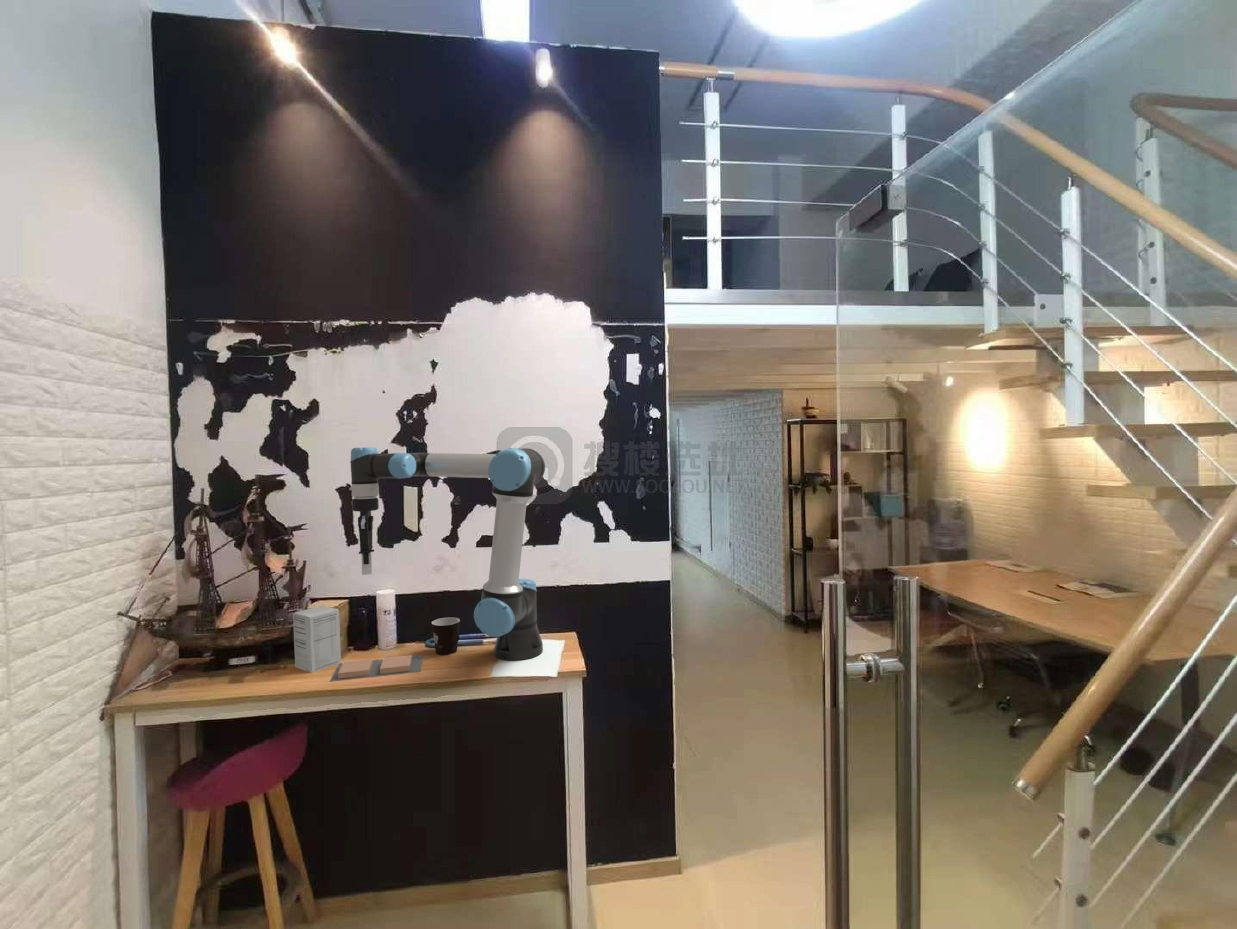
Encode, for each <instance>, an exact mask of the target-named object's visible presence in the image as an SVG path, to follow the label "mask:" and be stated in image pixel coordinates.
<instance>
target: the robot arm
mask: <svg viewBox="0 0 1237 929" xmlns="http://www.w3.org/2000/svg"><path fill="white" fill-rule="evenodd" d="M349 464H350V472H351V473H350V475H351V476H350V477H351V487H349V491H351V497H352V500H351V510H352V511H353V512H359V516H358V517H357V527H358V533H359V535H358V536H359V551H358V555H361V575H362V576H364V575H372V574H373V552H375V549H374V548H373V529H374V527H373V525H374V524H373V523H374V515H372V512H373V511H378V509H379V498H378V497H379V482H378V481H379V479H398V480H401V479H409V478H411V477H437V478H438V477H440V478H441V477H444V478H474V479H475V478H476V479H483V478H484V479H489V480H490V482H491V483H492V491H491V493H492V495H493V496H494V497H495V498H496V505H495V514H494V524H493V532H492V534H493V535H492V545H491V555H490V563H489V564H490V565H489V573H488V574H489V575H488V580H487V581H486V582H485V583H484V584H483V585H482V589H481V590H482V591H481V599H480V601H479V602H478V603H477V605H476V606H475V608H474V610H473V611H474V612H473V620H474V623H475V625H476V627H477V628H478V629H479V630H480V631H481V633H483V634H484V635H486V636H488V637H494V638H496V639H495V640H496V641H495V644H494V646H493V648H494V656H495V657H496V658H499V659H501V660H506V661H507V660H508V661H521V660H522V661H524V660H526V659H527V660H528V659H532V658H535V657H537V656H539V655H541V654H542V653H543V651H544V648H543V647H544V644H543V640H542V638H541V635H540V631H539V629H538V622H537V621H538V618H537V616H538V614H537V613H538V612H537V611H538V610H537V608H538V607H537V604H538V603H537V600H538V599H537V592H538V590H537V583H536V582H535V580H533V579H530V578H529V579H527V578H519V577H520V571H521V562H522V561H521V560H522V552H523V540H524V531H525V523H526V512H527V504H528V501H530V500H531V499H532V498H533V496H534V486H535V485H536V484H538V483H539V482H540V481H541V480H542V479H543V476H544V475H545V473H546V472H545V471H546V463H545V460H544V458H543V457H542V455H541V454H540V453H539V452H538V451H536V450H534V449H532V448H523V447H522V448H516V447H510V448H509V447H508V448H505V449H503V450H501V451H499V452H498V453H449V452H448V453H437V452H435V453H433V452H431V453H430V452H429V453H428V452H406V453H405V452H397V453H394V452H393V453H392V452H391V453H378V449H377V447H370V446H369V447H353V448H351V450H350V461H349Z"/></svg>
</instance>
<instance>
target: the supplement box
mask: <svg viewBox="0 0 1237 929" xmlns="http://www.w3.org/2000/svg"><path fill="white" fill-rule="evenodd" d="M292 619H293V623H292V624H293V643H294V644H293V646H294V648H293V649H294V667H295V669H299V670H301V671H305V672H307V673H310V674H313V673H316V672H319V671H323V670H325V669H328V668H331V667H334V666H338V665H339V664H342V658H341V657H342V656H341V655H342V654H341V653H342V652H341V651H342V650H341V630H340V628H341V626H340V610H339V609H338V608H334V607H330V606H326V605H319V606H314V607H311V608H308V609H303V610H299V611H296V612H293V613H292Z"/></svg>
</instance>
